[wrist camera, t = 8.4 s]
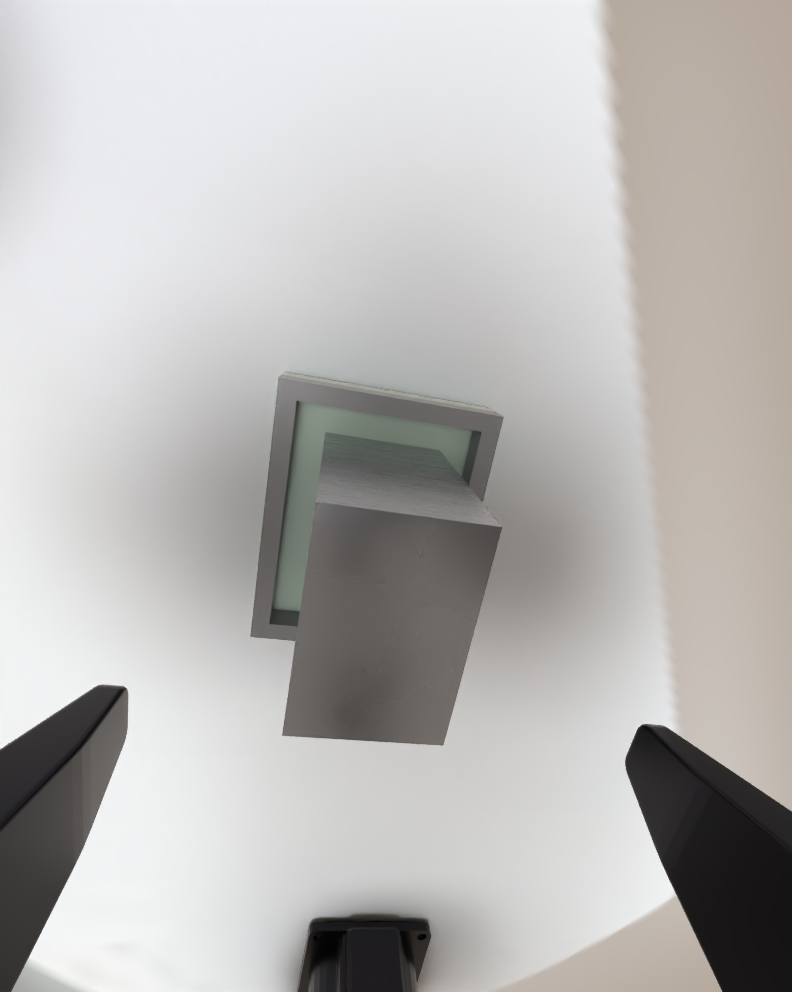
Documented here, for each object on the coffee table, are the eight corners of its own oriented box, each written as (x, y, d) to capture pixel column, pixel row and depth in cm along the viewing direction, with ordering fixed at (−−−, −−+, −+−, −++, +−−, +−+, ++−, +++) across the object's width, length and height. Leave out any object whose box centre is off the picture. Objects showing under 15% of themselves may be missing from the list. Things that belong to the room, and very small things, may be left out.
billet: (407, 600, 19) (443, 745, 12) (303, 589, 18) (282, 735, 12) (439, 450, 17) (501, 527, 11) (325, 431, 17) (315, 501, 10)
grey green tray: (434, 624, 21) (444, 654, 19) (259, 606, 20) (250, 636, 18) (486, 407, 18) (503, 416, 16) (285, 372, 17) (278, 377, 15)
